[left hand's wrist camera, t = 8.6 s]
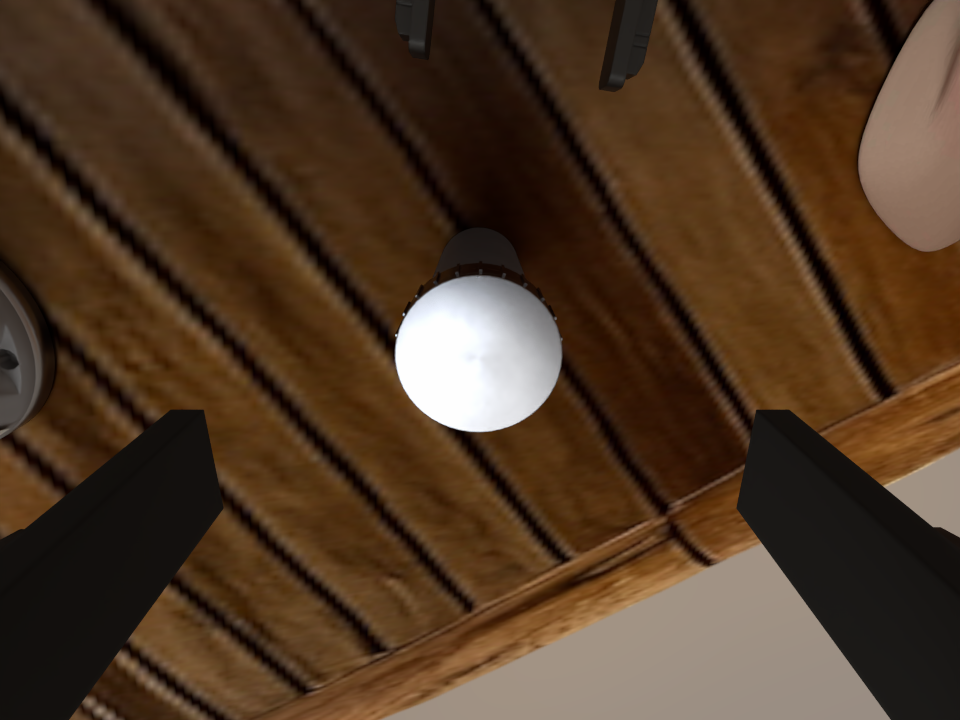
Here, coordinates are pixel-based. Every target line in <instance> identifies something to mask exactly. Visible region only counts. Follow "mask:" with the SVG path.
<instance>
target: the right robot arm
mask: <svg viewBox="0 0 960 720" xmlns="http://www.w3.org/2000/svg"><path fill="white" fill-rule="evenodd" d="M657 2H658V0H616V2H615V7H614V12H613V17H612V22H611V27H610V32H609V37H608V42H607V47H606V51H605V56H604V61H603V66H602V71H601V76H600V81H599V90H605V91H611V92H615V91H617V90H619V89H621V88H622V87H623V85H624V82H625V79H630V78H631V77H633V76H635V75H637V73H638V71H639V70H640V68H641V66H642V65H643V63H644V59H645V55H646V50H647V46H648V42H649V36H650V33H651V28H652V24H653V20H654V15H655V11H656V6H657ZM434 6H435V0H396V13H395V21H396V25H397V29H398V33H399V35H400V37H401V38H402V40H403V41H409V52H410V54H411V55H412V57H413V58H419V59H425V60H428V59H429V55H430V46H431V36H432V26H433V16H434Z"/></svg>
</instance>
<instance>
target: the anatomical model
mask: <svg viewBox="0 0 960 720" xmlns="http://www.w3.org/2000/svg"><path fill="white" fill-rule="evenodd" d="M858 170H859V176H860V181H861V184H862V187H863V190H864V192H865V194H866V196H867V199H868V201H869V203H870V204H871V206H872V207H873V209H874V210H875V212H876V213H877V215H878V216H879V217H880V218H881V219H882V221H883V222H884V223H885V224H886V226H887V227H888V228H889V229H890V230H891V231H892V232H893V233H894V234H895V235H896V236H897V237H899V238H900V239H901V240H902V241H904V242H905V243H906V244H908V245H909V246H911V247H912V248H915V249H917V250H920V251H936V250H939V249H942V248H945V247H947V246H949V245H951V244H953V243H955V242H957V241H958V240H960V0H934V1H933V2H932V3H931V4H930V5H929V7H928V8H927V9H926V10H925V12H924V13H923V15H922V16H921V18H920V19H919V21H918V22H917V24H916V25H915V27H914V28H913V30H912V32H911V33H910V35H909V37H908V38H907V40H906V42H905V44H904V46H903V47H902V49H901V51H900V53H899V55H898V57H897V59H896V60H895V62H894V64H893V66H892V68H891V70H890V72H889V74H888V76H887V78H886V81H885V83H884V85H883V87H882V89H881V91H880V93H879V95H878V98H877V100H876V102H875V105H874V107H873V110H872V112H871V114H870V117H869V120H868V123H867V125H866V128H865V131H864V134H863V138H862V141H861V145H860V150H859V158H858Z"/></svg>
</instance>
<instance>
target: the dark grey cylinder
mask: <svg viewBox="0 0 960 720" xmlns="http://www.w3.org/2000/svg"><path fill="white" fill-rule="evenodd" d="M479 261H482V263H488V264H493V265H498V266H501V264H502V265H504V267H505V268H508V269H510V270H512V271H514V272H516V273H518V274H520V275H521V274H523V275H524V273H523V270H522V268H521V265H520V262H519V260H518V257H517V254H516V252H515V250H514V248H513V246H512V245H511V243H510V242H509V241H508V240H507V239H506V238H505V237H504V236H503V235H502V234H500V233H498V232H496V231H494V230H491V229H488V228H479V227H478V228H471V229H467V230H464V231H462V232H460V233H458V234H457V235H456V236H454V237H453V238H452V239H451V240H450V241H449V242H448V244H447V245H446V247H445V248H444V251H443V253H442V255H441V258H440V260H439V263H438V266H437V268H436V271H435V273H434V276H433V277H435V276H436V273H437V272H440V273H441V272H443V271H445V270H447V269H450V268H453V267H455V266H457V264H459V263H460V265H464V264H471V263H479Z"/></svg>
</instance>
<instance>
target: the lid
mask: <svg viewBox="0 0 960 720" xmlns="http://www.w3.org/2000/svg"><path fill="white" fill-rule="evenodd" d="M402 316H404V318H403V320H402V322H401V324H400V326H399V328H398V330H397V332H396V335H395V336H396V342H395V355H394V356H395V364H396V370H397V374H398V377H399V380H400V382H401V384H402V387H403V389H404V390H405V392H406V394H407V395H408V397H409V398H410V399H411V401H412V402H413V403H414V404H415V405H416V406H417V407H418V408H419V409H420V410H421V411H422V412H423V413H424V414H426V415H427V416H428V417H430V418H431V419H433V420H435V421H437V422H438V423H440V424H443V425H445V426H447V427H450V428H453V429H457V430H461V431H468V432H490V431H496V430H501V429H504V428H507V427H510V426H512V425H515V424H517V423H519V422H521V421H522V420H524V419H526V418H527V417H529V416H530V415H531V414H533V413H534V412H535V411H536V410H537V409H538V408H539V407H540V406H541V405H542V404H543V403H544V402H545V401H546V399H547V398H548V397H549V395H550V394H551V392H552V390H553V389H554V387H555V385H556V382H557V380H558V377H559V374H560V370H561V365H562V342H561V341H562V337H561V334H560V332H559V330H558V327H557V324H556V322H555V320H556V319H557V318H556V316H555V314H554V312H553V310H552V308H551V306H550V305H549V306H548V305H547V303H546V301H545V299H544V297H543V295H542V292H541V290H540V289H539V288H537V289H536V287H535V286H534V285H533V284H532V283H530V282H529V281H528V280H527V279H526V278H525V276H524V275H523V274H521V275H520V274H518V273H516V272H514V271H512V270H510V269H508V268H505V267H504V265H502V264H501V266H498V265H493V264H488V263H482V261H479V263H471V264H464V265H460V263H459V264H457V266H455V267H453V268H450V269H447V270H445V271H443V272H441V273H440V272H437V273H436V276H435V277H433V278H432V279H430V280H429V281H428V282H427V283H426V284H425V285H424V286H423V285H421V286H420V287H419V289H418V291H417V293H416V295H415V297H414V298H413V300H412V301H411V302H408V304H407V306H406V308H405V310H404V312H403V314H402Z"/></svg>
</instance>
